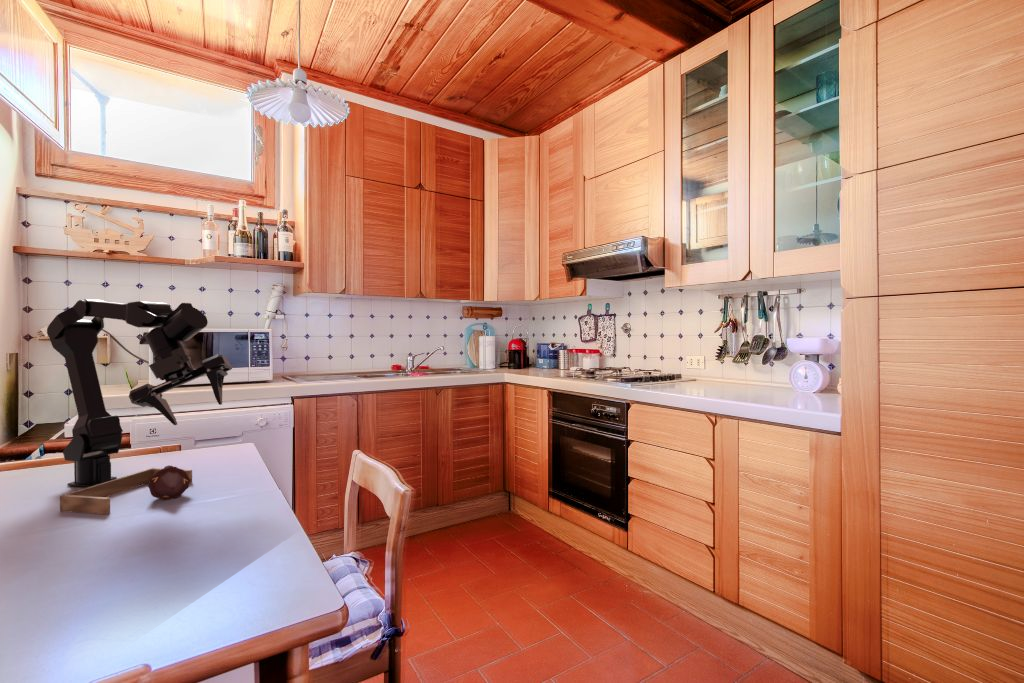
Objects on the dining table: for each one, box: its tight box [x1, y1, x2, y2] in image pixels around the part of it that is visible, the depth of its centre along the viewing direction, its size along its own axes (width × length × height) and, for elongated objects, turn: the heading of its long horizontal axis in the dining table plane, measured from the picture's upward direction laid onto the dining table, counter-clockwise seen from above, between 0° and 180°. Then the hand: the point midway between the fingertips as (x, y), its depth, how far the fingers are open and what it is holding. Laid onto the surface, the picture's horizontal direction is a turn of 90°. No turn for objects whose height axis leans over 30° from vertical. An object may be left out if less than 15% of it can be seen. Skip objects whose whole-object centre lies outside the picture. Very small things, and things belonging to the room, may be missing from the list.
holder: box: [59, 467, 193, 515], centre depth 104 cm, size 11×20×3 cm, turn 171°
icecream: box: [147, 465, 191, 501], centre depth 103 cm, size 7×7×15 cm
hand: (198, 414), depth 104 cm, fingers open, 9 cm apart
